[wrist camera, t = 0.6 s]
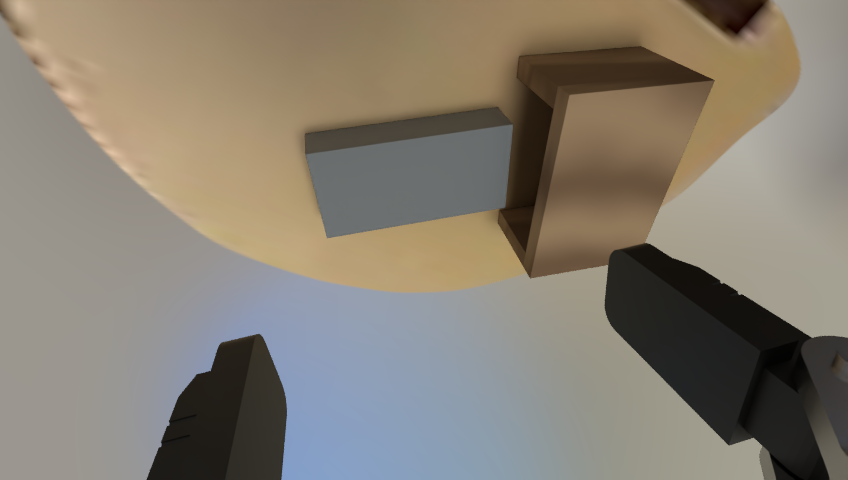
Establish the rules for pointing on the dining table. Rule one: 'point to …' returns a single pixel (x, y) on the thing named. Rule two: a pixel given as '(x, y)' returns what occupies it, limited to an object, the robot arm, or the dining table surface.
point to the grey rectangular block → (410, 170)
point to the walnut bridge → (602, 153)
